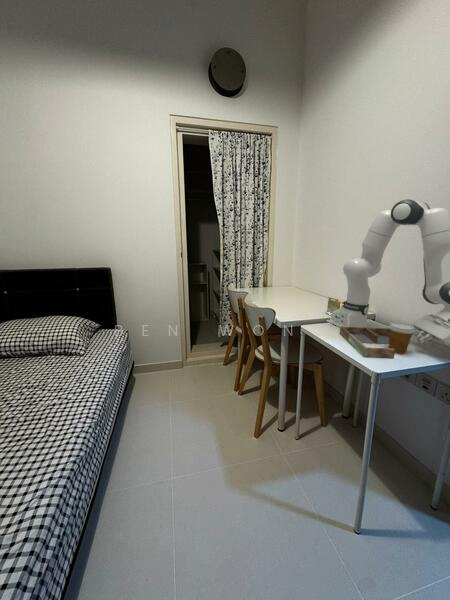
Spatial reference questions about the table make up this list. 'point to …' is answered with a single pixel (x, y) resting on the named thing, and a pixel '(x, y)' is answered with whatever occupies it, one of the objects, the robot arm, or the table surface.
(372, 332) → the walnut corridor
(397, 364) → the table surface
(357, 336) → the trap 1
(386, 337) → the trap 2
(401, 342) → the disposable coffee cup
